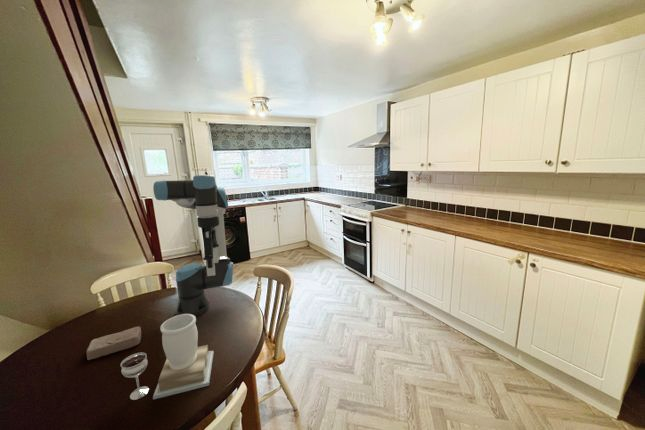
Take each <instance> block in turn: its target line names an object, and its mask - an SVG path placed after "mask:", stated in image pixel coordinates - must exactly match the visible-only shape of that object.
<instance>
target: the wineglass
mask: <svg viewBox="0 0 645 430" xmlns="http://www.w3.org/2000/svg"><path fill="white" fill-rule="evenodd" d="M148 364H149V361H148V357H147V353H146V352H142V351H141V352H137V353H133V354H131V355H129V356H126V357H125V358H124V359H123V360H122V361H121V363H120V367H121V371H120V373H121V374H122V375H123V377H125V378H129V379H130V378H131V379H133V378H135V382H136V387H137V388H136V389H134V390H133V391H132V392H131V393H130V395H129V398H130V400H133V401H135V400H138V399H141V398H143V397H145V396H146V395H147V394H148V392H149V390H150V388H149V386H146V385H145V386H140V380H139V376H140V375H142V374H143V373H144V372H145V370H146V368H147V366H148Z"/></svg>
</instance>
